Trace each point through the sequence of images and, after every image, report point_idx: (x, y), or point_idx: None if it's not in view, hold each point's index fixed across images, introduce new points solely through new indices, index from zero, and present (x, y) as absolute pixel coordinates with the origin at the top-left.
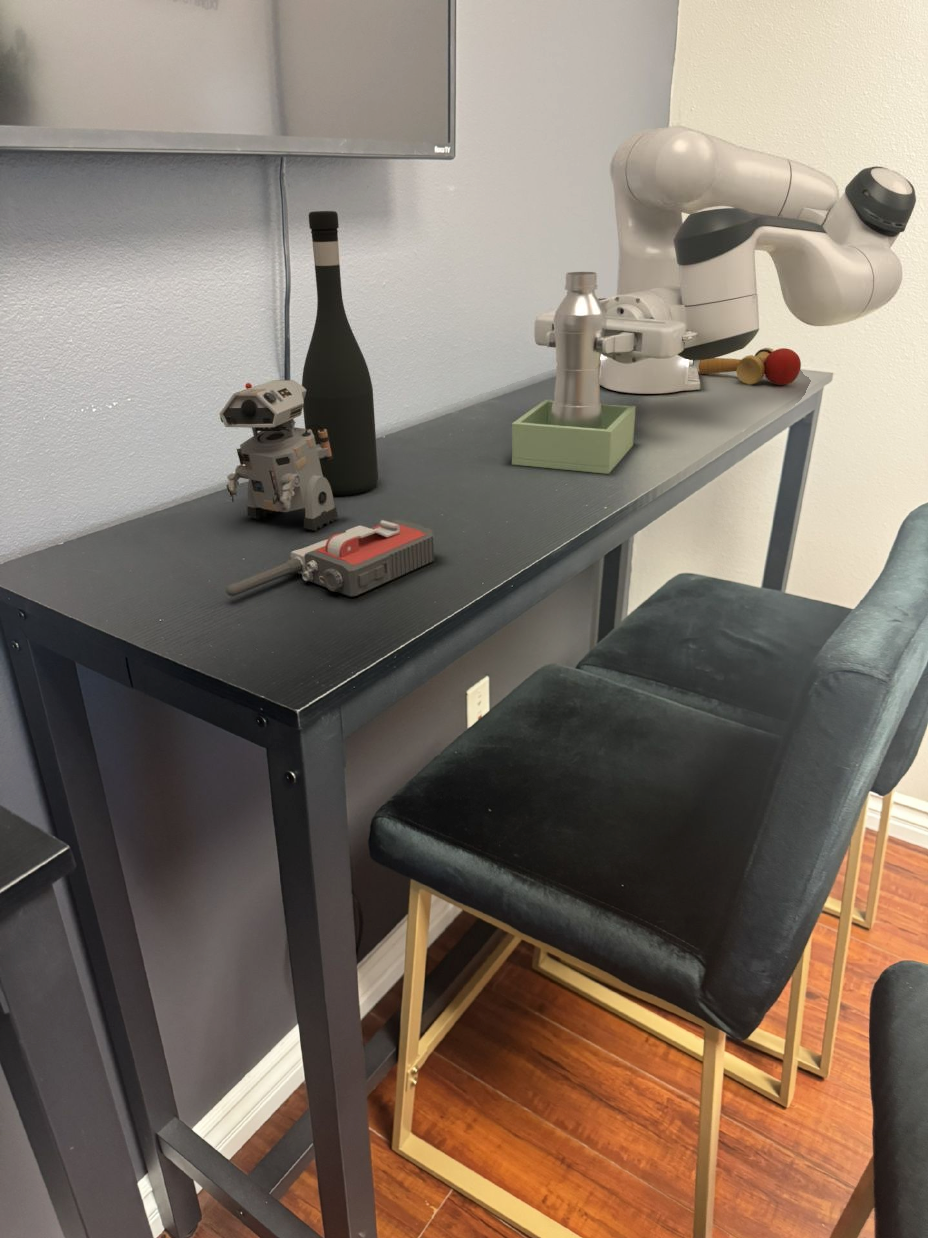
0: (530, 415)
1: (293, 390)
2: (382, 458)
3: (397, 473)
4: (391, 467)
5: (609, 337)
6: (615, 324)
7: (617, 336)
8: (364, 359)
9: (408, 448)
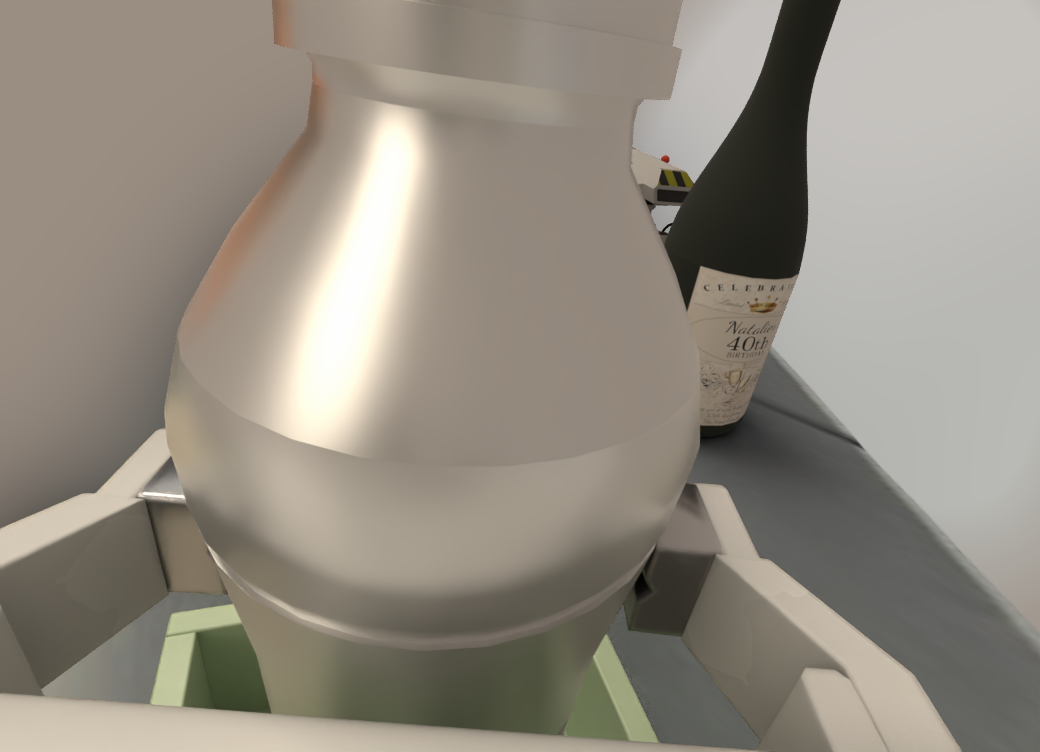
0: (603, 685)
1: (635, 172)
2: (821, 537)
3: (693, 482)
4: (740, 502)
5: (143, 456)
6: (37, 736)
7: (53, 508)
8: (722, 204)
9: (886, 628)
